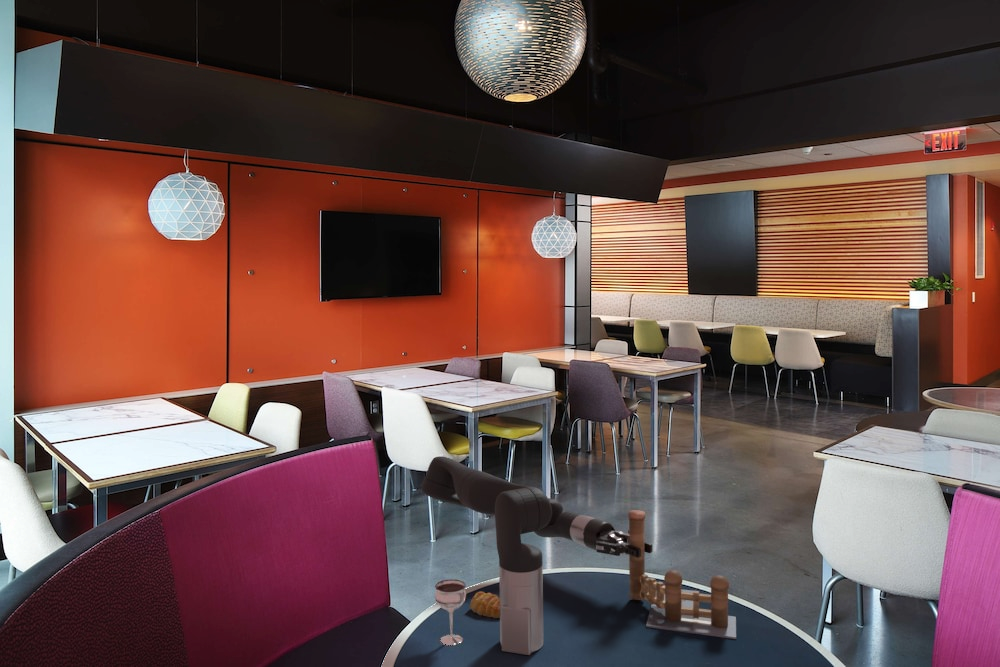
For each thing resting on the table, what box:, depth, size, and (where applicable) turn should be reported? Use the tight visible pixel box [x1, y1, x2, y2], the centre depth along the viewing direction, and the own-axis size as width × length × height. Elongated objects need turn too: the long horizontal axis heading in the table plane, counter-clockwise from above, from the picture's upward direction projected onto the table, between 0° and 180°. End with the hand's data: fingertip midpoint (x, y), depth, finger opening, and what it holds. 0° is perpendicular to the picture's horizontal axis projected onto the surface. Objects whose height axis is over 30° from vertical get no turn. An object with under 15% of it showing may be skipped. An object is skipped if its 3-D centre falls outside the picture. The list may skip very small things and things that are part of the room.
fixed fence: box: [663, 569, 730, 628], centre depth 156 cm, size 4×14×12 cm, turn 71°
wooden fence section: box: [627, 509, 665, 609], centre depth 164 cm, size 12×4×21 cm, turn 31°
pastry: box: [469, 591, 500, 619], centre depth 163 cm, size 9×7×4 cm
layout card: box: [645, 589, 737, 640], centre depth 162 cm, size 22×19×1 cm
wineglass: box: [434, 578, 467, 647], centre depth 150 cm, size 7×7×12 cm
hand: (645, 551), depth 165 cm, fingers closed on wooden fence section, 3 cm apart
